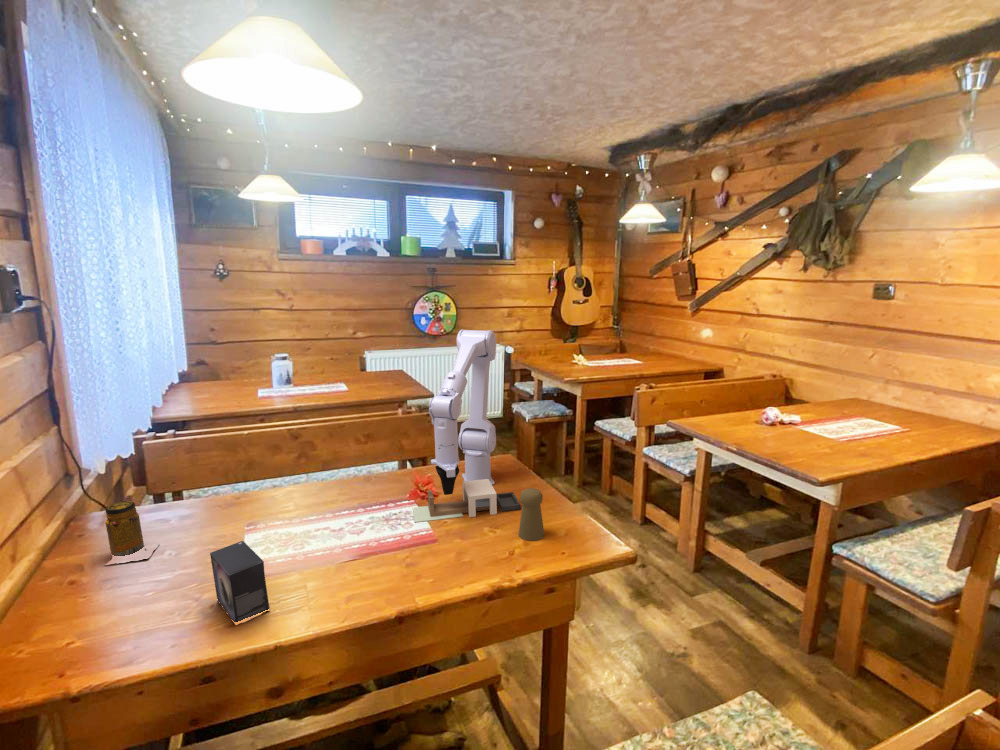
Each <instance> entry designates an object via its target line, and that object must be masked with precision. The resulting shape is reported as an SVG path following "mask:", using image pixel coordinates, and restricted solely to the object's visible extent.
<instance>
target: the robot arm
mask: <svg viewBox="0 0 1000 750" xmlns="http://www.w3.org/2000/svg"><path fill="white" fill-rule="evenodd" d="M456 348H457V355H456V358H455V360H454V364H453V367H452V371H449V372H447V373H446V375H445V377H444V379H443V381H442V384H441V387H440V389H439V392H438V393H437V395H435V396H434V397H432V398H431V400H430V402H429V408H428V412H429V413H428V414H429V416H430V418H431V425H432V426H433V429H434V447H435V448H434V453H435V454H434V455H435V458H433V459H430V464H431V465H435V470H436V474H437V475H438V477H439V478H440V482H441V483H440V484H441V487H442V491H443V495H444V496H448V495H449V496H450V495H453V493H454V489H455V483H456V480H457V477H458V475H459V473H460V468H459V463H460V458H459V448H460V450H462V453H463V454H464V472H465V473H461V476H462V478H463V482H464V481H473V480H483V479H489V481H490V483H491V484H492V486H493V485H495V481H494V479H493V477H492V476H491V474H492V471H491V469H492V467H491V453H493V451H494V450H495V449H496V445H497V436H496V426H495V425H494V424H493V423H492V421H490V420H489V419H488V418H487V415H488V413H487V412H488V400H489V399H488V398H489V397H488V396H489V385H490V384H489V382H490V369H491V368H490V367H491V366H490V365H491V362H492V361H494V360H496V355H497V353H496V352H497V337H496V334H495V332H494V331H493V330H491V329H489V330H478V329H477V330H476V329H475V330H474V329H473V330H471V329H462V328H461V329H460V330H459V331H458V333H457V335H456ZM471 366H472V368H471ZM470 368H471V369H472V370H471V384H470V385H471V387H470V401H469V402H470V404H469V416H468V419H466V420H464V421H463V422H462V423H461V424H460V430H459V433H458V418H459V417H460V415H461V412H462V403H463V399H462V397H463V394H464V392H465V389H466V387H467V384H468V380H467V377H466V375H467V373H468V371H469V369H470Z"/></svg>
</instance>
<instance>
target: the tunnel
mask: <svg viewBox="0 0 1000 750" xmlns="http://www.w3.org/2000/svg"><path fill="white" fill-rule="evenodd" d="M496 494H497V491H496V490H495V488H494V487H493V485H492V484H491V483H490V481H489V479H483V480H473V481H464V480H463V481H462V499H463V500H462V501H465V500H468V507H469V512H468V517H469V518H476V516H477V511H476V503H475V500H476V499H485V498H489V505H490V510H489V515H490V516H494V515H497V514H498V511H497V510H498V509H497V507H498V506H497V505H498V504H497V495H496Z"/></svg>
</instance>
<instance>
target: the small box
mask: <svg viewBox="0 0 1000 750" xmlns="http://www.w3.org/2000/svg"><path fill="white" fill-rule="evenodd" d="M209 555H210V563H211V568H212V574H213V581H214V587H215V588H214V589H215V593H216V600H217V599H218V601H219V602H220V604H221V605H222V606H223V608H224V609H225V611H226V612H227V613H228V615H229V616H230V617H231V619H232V620H233V621H234V622H238V621H241V620H243V619H245V618H248V617H251V616H253V615H256V614H258V613H261V612H263V611H265V610H268V609H269V608H270V602H269V596H268V589H267V588H268V587H267V582H266V575H265V563H264V560H263V559H262V558H261V557H260V556H259V555H258V554H257V553H256V552H255V551H254V550H253V549H252V548H251V547H250V546H249V545H248V544H247V543H246V542H245V541H244V540H241V541H238V542H236V543H233V544H231V545H227V546H225V547H223V548H219V549H217V550H214V551H212V552H209ZM218 601H217V602H218ZM219 602H218V603H219ZM220 604H219V605H220ZM221 605H220V606H221ZM223 608H222V609H223ZM224 609H223V610H224ZM270 609H271V608H270ZM225 611H224V612H225ZM226 612H225V613H226ZM227 613H226V614H227ZM228 615H227V616H228ZM229 616H228V617H229ZM230 617H229V618H230ZM231 619H230V620H231ZM232 620H231V621H232ZM233 621H232V622H233Z"/></svg>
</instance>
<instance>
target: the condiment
mask: <svg viewBox="0 0 1000 750" xmlns="http://www.w3.org/2000/svg"><path fill="white" fill-rule="evenodd" d="M105 513H106V521H105V527H106V528H105V529H106V532H107V540H108V545H109V550H110V555H111V554H112V555H114V556H125V555H130V554H133V553H135V552H137V551H139V550H140V549H142V548H143V547H144V546H145V545H144V537H143V531H142V527H141V521H140V514H139V513H138V512H137V508H136V503H135V502H134V501H131V500H124V501H123V500H122V501H118V502H115V503H113V504H110V505H109V506H107V507H106V508H105Z"/></svg>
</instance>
